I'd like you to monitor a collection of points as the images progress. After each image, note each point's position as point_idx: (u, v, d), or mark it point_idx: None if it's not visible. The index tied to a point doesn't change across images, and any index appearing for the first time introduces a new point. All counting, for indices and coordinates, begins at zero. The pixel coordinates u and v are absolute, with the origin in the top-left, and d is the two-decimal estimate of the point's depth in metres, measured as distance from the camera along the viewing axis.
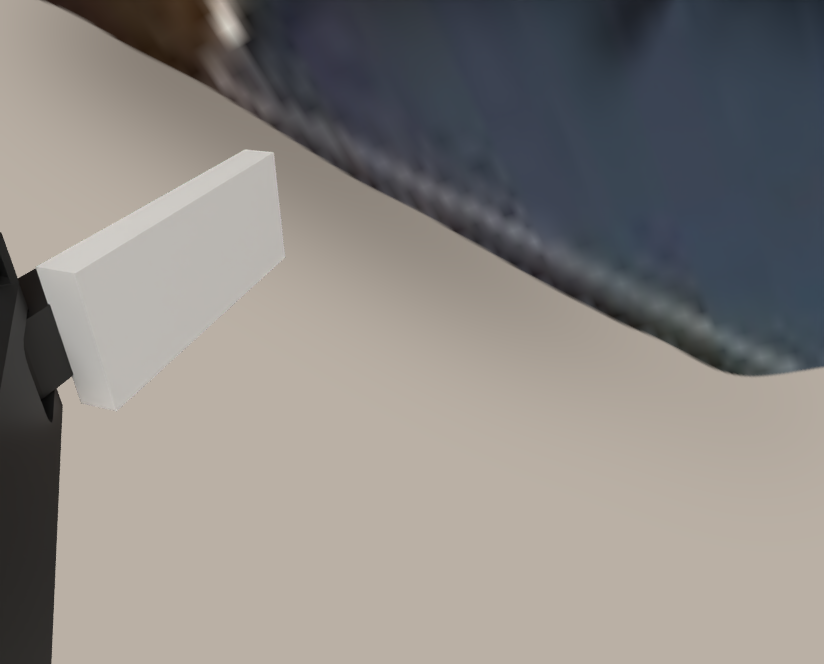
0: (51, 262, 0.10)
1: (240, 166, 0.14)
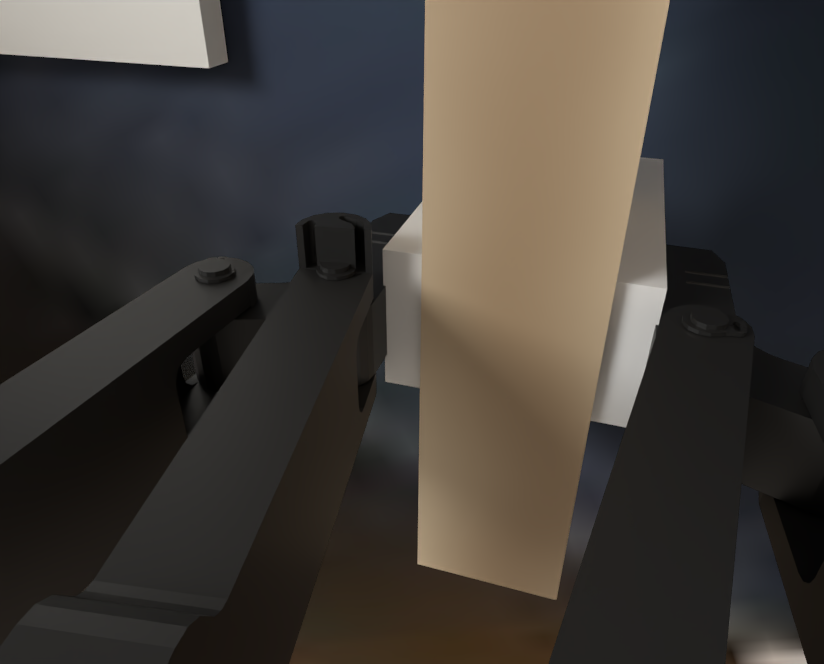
0: (393, 245, 0.11)
1: None
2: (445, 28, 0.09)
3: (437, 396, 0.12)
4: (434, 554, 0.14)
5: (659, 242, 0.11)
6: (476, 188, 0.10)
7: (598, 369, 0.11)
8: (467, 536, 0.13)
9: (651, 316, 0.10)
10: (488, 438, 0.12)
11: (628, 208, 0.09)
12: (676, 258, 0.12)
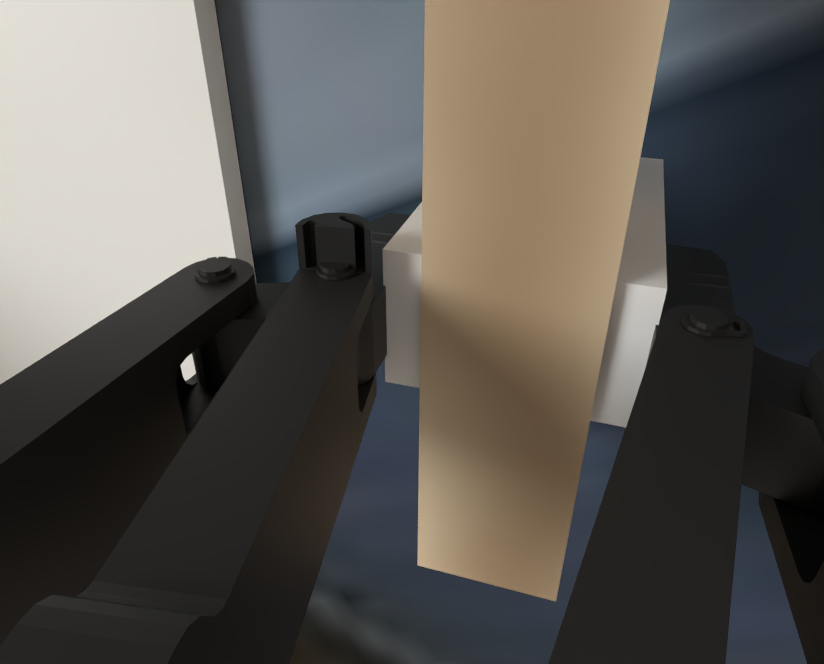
0: (393, 245, 0.11)
1: None
2: (445, 33, 0.09)
3: (437, 399, 0.12)
4: (433, 554, 0.14)
5: (659, 242, 0.11)
6: (476, 193, 0.10)
7: (597, 372, 0.11)
8: (468, 538, 0.13)
9: (651, 316, 0.10)
10: (488, 441, 0.12)
11: (627, 212, 0.09)
12: (676, 258, 0.12)
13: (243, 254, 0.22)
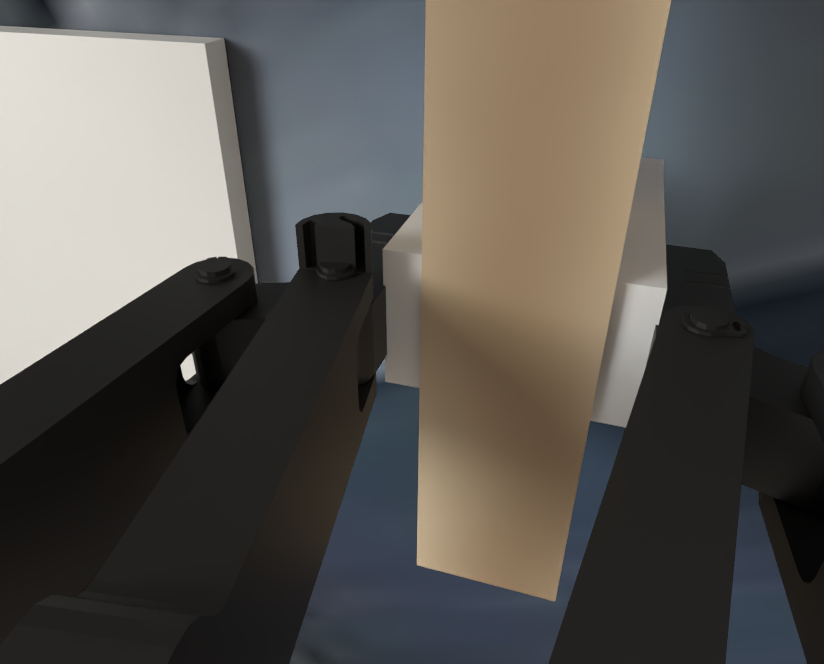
0: (393, 245, 0.11)
1: None
2: (445, 33, 0.09)
3: (437, 399, 0.12)
4: (433, 555, 0.14)
5: (659, 242, 0.11)
6: (476, 193, 0.10)
7: (597, 373, 0.11)
8: (467, 537, 0.13)
9: (651, 316, 0.10)
10: (488, 441, 0.12)
11: (628, 213, 0.09)
12: (676, 258, 0.12)
13: None
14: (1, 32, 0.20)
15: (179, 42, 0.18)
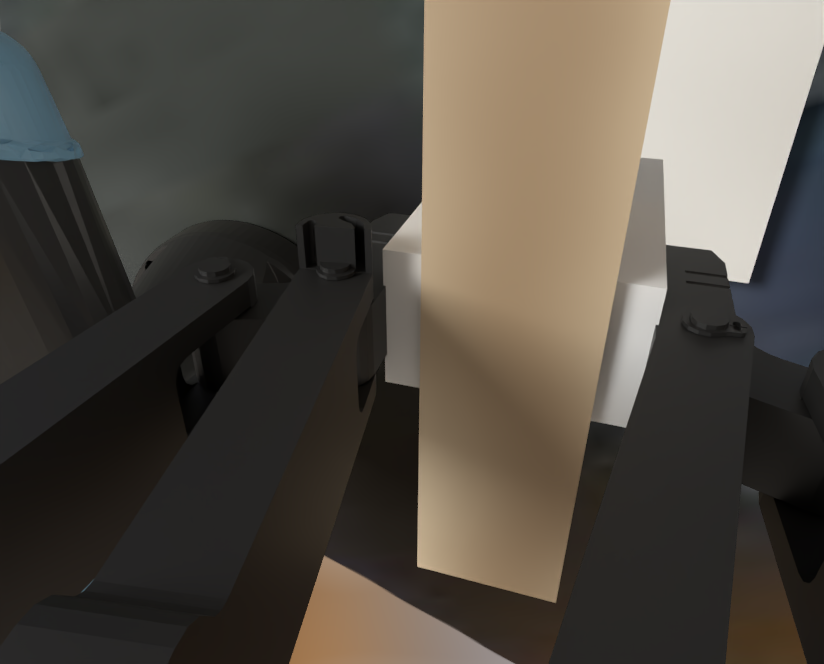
0: (394, 245, 0.11)
1: None
2: (444, 34, 0.09)
3: (437, 400, 0.12)
4: (433, 556, 0.14)
5: (659, 242, 0.11)
6: (476, 194, 0.10)
7: (597, 374, 0.11)
8: (467, 539, 0.13)
9: (651, 316, 0.10)
10: (488, 442, 0.12)
11: (627, 214, 0.09)
12: (675, 258, 0.12)
13: (802, 104, 0.27)
14: None
15: None
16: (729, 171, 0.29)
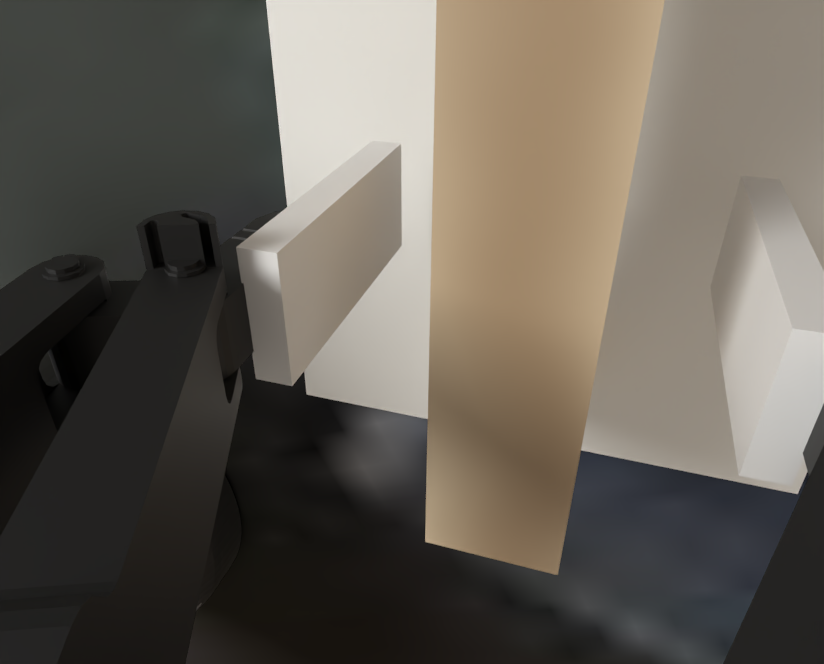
0: (248, 243, 0.11)
1: (376, 156, 0.15)
2: (455, 32, 0.09)
3: (445, 379, 0.12)
4: (441, 532, 0.15)
5: (820, 279, 0.10)
6: (483, 182, 0.10)
7: (597, 352, 0.11)
8: (473, 514, 0.14)
9: None
10: (493, 419, 0.13)
11: (625, 200, 0.10)
12: None
13: None
14: None
15: None
16: None
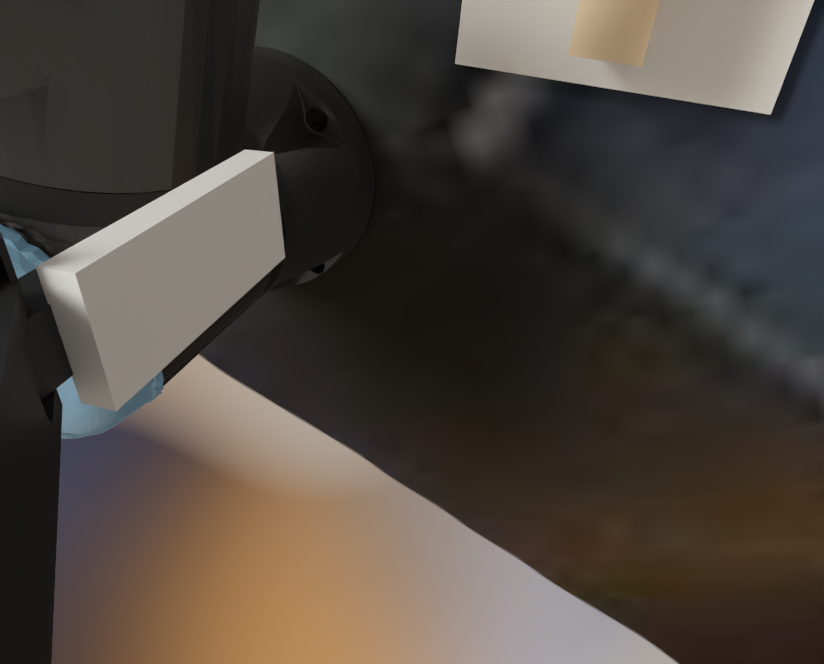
0: (51, 262, 0.10)
1: (240, 166, 0.14)
2: None
3: None
4: (578, 44, 0.27)
5: None
6: None
7: None
8: (601, 26, 0.26)
9: None
10: None
11: None
12: None
13: None
14: None
15: None
16: None
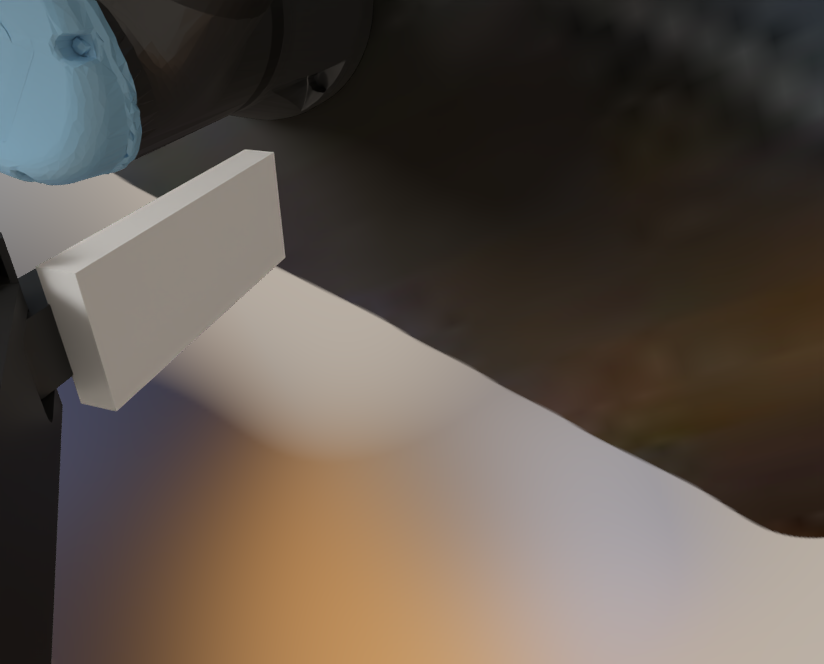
0: (51, 262, 0.10)
1: (240, 166, 0.14)
2: None
3: None
4: None
5: None
6: None
7: None
8: None
9: None
10: None
11: None
12: None
13: None
14: None
15: None
16: None
